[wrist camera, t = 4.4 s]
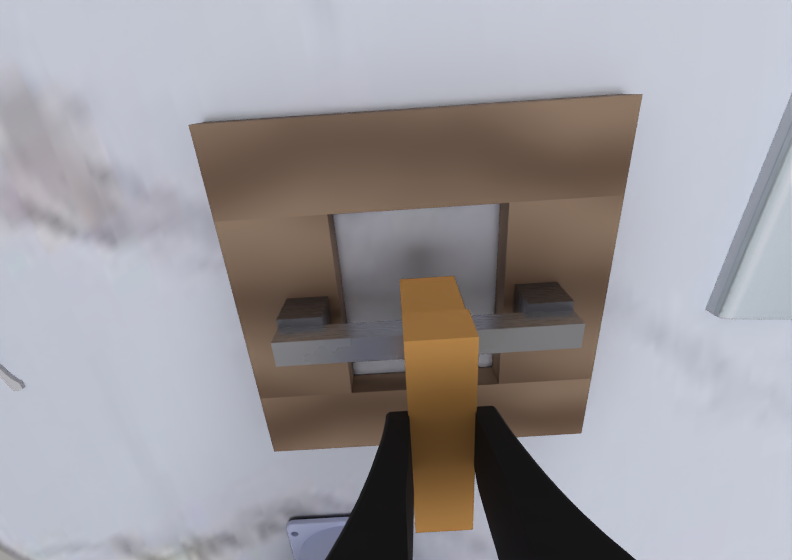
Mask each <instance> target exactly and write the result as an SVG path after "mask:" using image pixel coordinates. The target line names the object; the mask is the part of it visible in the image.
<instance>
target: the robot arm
mask: <svg viewBox="0 0 792 560" xmlns="http://www.w3.org/2000/svg"><path fill="white" fill-rule="evenodd" d="M474 469H475V474H476V479H477V485H478V489H479V493H480V497H481V500H482V504H483V507H484V510H485V514H486V517H487V521H488V524H489V528H490V531H491V535H492V538H493V541H494V545H495V548H496V552H497V555H498V559H499V560H636V559H634V558H633V557H632V556H631V555H630V554H629V553H627V552H626V551H625V550H624V549H623V548H621V547H620V546H619V545H618V544H617V543H615V542H614V541H613V540H612V539H611V538H609V537H608V536H607V535H606V534H605V533H604V532H603V531H602V530H600V529H599V528H598V527H597V526H596V525H595V524H594V523H593V522H592V521H591V520H590V519H589V518H588V517H586V516H585V515H584V514H583V513H582V512H581V511H580V510H579V509H578V508H577V507H576V506H575V505H574V504H573V503H572V502H571V501H570V500H569V499H568V498H567V497H566V496H565V494H564V493H563V492H562V491H561V490H560V489H559V488H558V487H557V486H556V485H555V484H554V483H553V481H552V480H551V479H550V478H549V477H548V476H547V475H546V474H545V472H544V471H543V470H542V469H541V468H540V467H539V465H538V464H537V463H536V462H535V460H534V459H533V458H532V457H531V456H530V454H529V453H528V452H527V451H526V449H525V448H524V447H523V446H522V444H521V443H520V442H519V440H518V439H517V438H516V436H515V435H514V434H513V432H512V431H511V429H510V428H509V427H508V425H507V424H506V422H505V421H504V419H503V418H502V416H501V415H500V413H499V412H498V410H497V409H496V408H495V407H494V406H478V407H477V412H476V414H475V446H474ZM413 519H414V482H413V466H412V450H411V434H410V419H409V416H408V411H395V412H389V413H388V414H386V419H385V425H384V430H383V434H382V437H381V441H380V444H379V447H378V450H377V453H376V456H375V459H374V462H373V464H372V467H371V470H370V472H369V475H368V477H367V480H366V482H365V484H364V487H363V489H362V491H361V493H360V496H359V498H358V500H357V502H356V504H355V506H354V508H353V510H352V512H351V514H350V516H349V517H334V518H317V519H300V520H291V521H289V522H288V523H287V533H288V537H289V540H290V544H291V547H292V551H293V555H294V558H295V560H413Z"/></svg>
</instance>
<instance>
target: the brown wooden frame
mask: <svg viewBox="0 0 792 560" xmlns="http://www.w3.org/2000/svg"><path fill="white" fill-rule="evenodd" d="M641 100H642V94H617V95H602V96H587V97H572V98H557V99H542V100H528V101H513V102H498V103H483V104H468V105H453V106H438V107H424V108H409V109H394V110H379V111H364V112H349V113H334V114H320V115H305V116H290V117H275V118H260V119H245V120H231V121H216V122H203V123H197V124H191V125H189V129H190V132H191V136H192V140H193V144H194V148H195V151H196V155H197V159H198V163H199V167H200V171H201V174H202V178H203V182H204V186H205V190H206V193H207V197H208V201H209V205H210V209H211V212H212V216H213V220H214V224H215V228H216V232H217V235H218V239H219V243H220V247H221V251H222V254H223V258H224V262H225V266H226V270H227V273H228V277H229V281H230V285H231V289H232V293H233V296H234V300H235V304H236V308H237V312H238V315H239V319H240V323H241V327H242V331H243V334H244V338H245V342H246V346H247V350H248V354H249V357H250V361H251V365H252V369H253V373H254V376H255V380H256V384H257V388H258V392H259V395H260V399H261V403H262V407H263V411H264V414H265V418H266V422H267V426H268V430H269V434H270V437H271V441H272V445H273V449H274V452H275V451H292V450H309V449H326V448H343V447H359V446H376V445H379V444H380V441H381V437H382V434H383V430H384V425H385V419H386V414H388V413H389V412H395V411H408V404H407V388H406V372H402V373H386V374H369V375H354V373H353V366H352V362H344V363H328V364H312V365H295V366H279V367H276V364H275V359H274V355H273V351H272V347H271V342H272V339H273V337H274V335H275V333H276V331H277V329H278V326H277V322H276V319H277V317H278V315H279V313H280V311H281V309H282V307H283V305H284V303H285V301H286V299H288V298H304V297H320V296H328V300H329V307H330V313H331V320H332V324H346V323H347V320H346V312H345V305H344V297H343V290H342V282H341V274H340V267H339V259H338V252H337V244H336V236H335V229H334V221H333V214H343V213H358V212H374V211H389V210H404V209H420V208H435V207H451V206H466V205H481V204H497V203H500V221H499V241H498V261H497V281H496V301H495V314H506V313H513V306H514V292H515V284H526V283H541V282H558V283H559V285H560V286H561V287H562V288H563V289H564V290H565V291H566V292H567V294H568V295H569V296H570V297H571V298H572V299H573V300H574V307H573V310H574V311H575V312H576V313H577V314H578V316H579V317H580V318H581V319H582V320H583V322H584V323H585V329H584V335H583V341H582V347H581V348H572V349H555V350H539V351H523V352H507V353H493V362H492V367H484V368H478V385H477V407H478V406H494V407H495V408H496V409H497V410H498V412H499V413H500V415H501V416H502V418H503V419H504V421H505V422H506V424H507V425H508V427H509V428H510V429H511V431H512V432H513V434H514V435H515V436H516V437H527V436H544V435H561V434H578V433H581V432H582V426H583V421H584V415H585V410H586V404H587V399H588V393H589V388H590V382H591V376H592V371H593V365H594V360H595V354H596V349H597V343H598V338H599V332H600V327H601V321H602V316H603V310H604V304H605V299H606V293H607V288H608V282H609V277H610V271H611V266H612V260H613V255H614V249H615V244H616V238H617V232H618V227H619V221H620V216H621V210H622V205H623V199H624V194H625V188H626V183H627V177H628V172H629V166H630V160H631V155H632V149H633V144H634V138H635V133H636V127H637V122H638V116H639V111H640V105H641Z"/></svg>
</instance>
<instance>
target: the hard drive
mask: <svg viewBox="0 0 792 560" xmlns="http://www.w3.org/2000/svg"><path fill="white" fill-rule="evenodd" d="M706 310H707V311H709V312H710V313H712V314H713V315H715V316H717V317H720V318H724V319H792V95H791V97H790V100H789V102H788V104H787V107H786V109H785V112H784V114H783V117H782V119H781V122H780V124H779V127H778V129H777V132H776V134H775V137H774V139H773V142H772V144H771V147H770V149H769V152H768V154H767V157H766V159H765V162H764V164H763V167H762V169H761V172H760V174H759V177H758V179H757V182H756V184H755V187H754V189H753V192H752V194H751V197H750V199H749V202H748V204H747V207H746V209H745V212H744V214H743V217H742V219H741V222H740V224H739V227H738V229H737V232H736V234H735V237H734V239H733V242H732V244H731V247H730V249H729V252H728V254H727V257H726V259H725V262H724V264H723V267H722V269H721V272H720V274H719V277H718V279H717V282H716V284H715V287H714V289H713V292H712V294H711V297H710V299H709V302H708V304H707V307H706Z"/></svg>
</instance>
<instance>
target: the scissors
mask: <svg viewBox="0 0 792 560" xmlns="http://www.w3.org/2000/svg"><path fill="white" fill-rule="evenodd" d="M0 378H2V379H3V380H4V381H5V382H6V384H7V385H8V386H9V387H10V388H11V389H12V390H13V391H20V390H21V389H23V388H24V387H25V385H24V383H23V381H22V380H20V379H18V378H16V377H15V376H13V375H12V374H11V373H10V372H9V371H8V370H7V369H6V368H4V367H3V366H2V365H1V364H0Z"/></svg>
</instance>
